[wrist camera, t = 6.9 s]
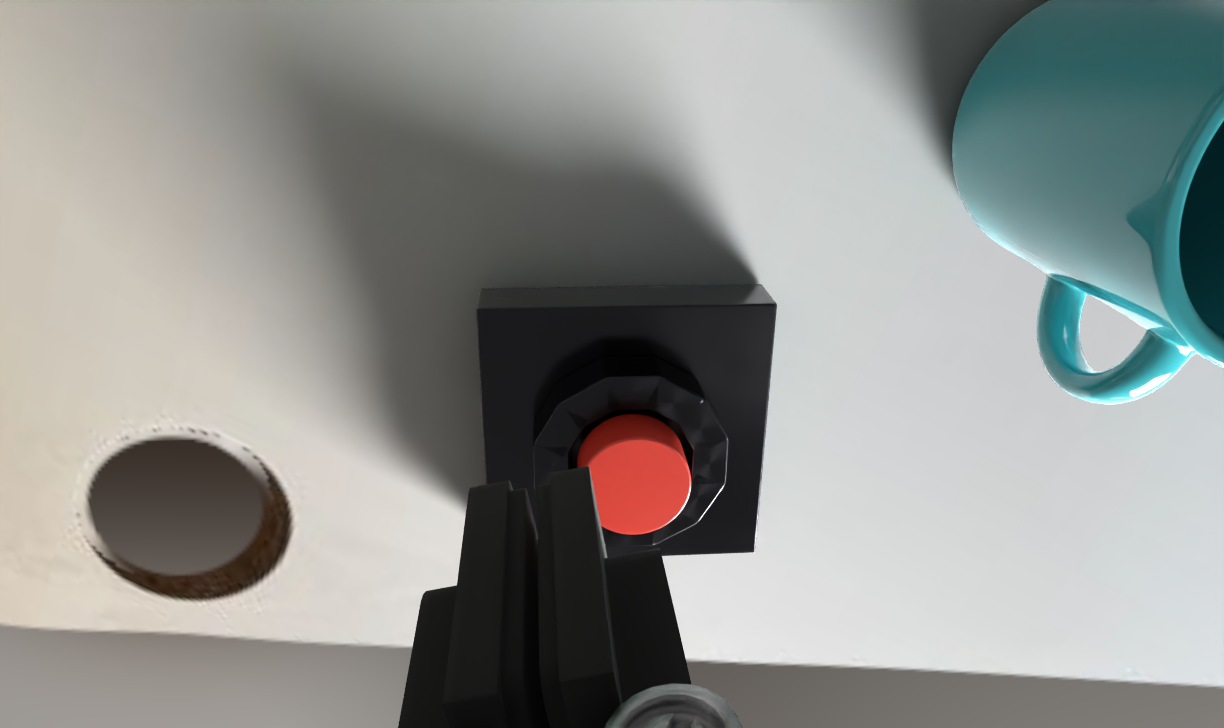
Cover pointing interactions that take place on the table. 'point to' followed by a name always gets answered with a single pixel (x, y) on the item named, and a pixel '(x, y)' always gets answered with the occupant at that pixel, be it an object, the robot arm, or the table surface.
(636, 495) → the button
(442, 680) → the robot arm
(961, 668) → the table surface
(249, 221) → the table surface
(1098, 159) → the cup
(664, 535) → the button block
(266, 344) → the table surface
